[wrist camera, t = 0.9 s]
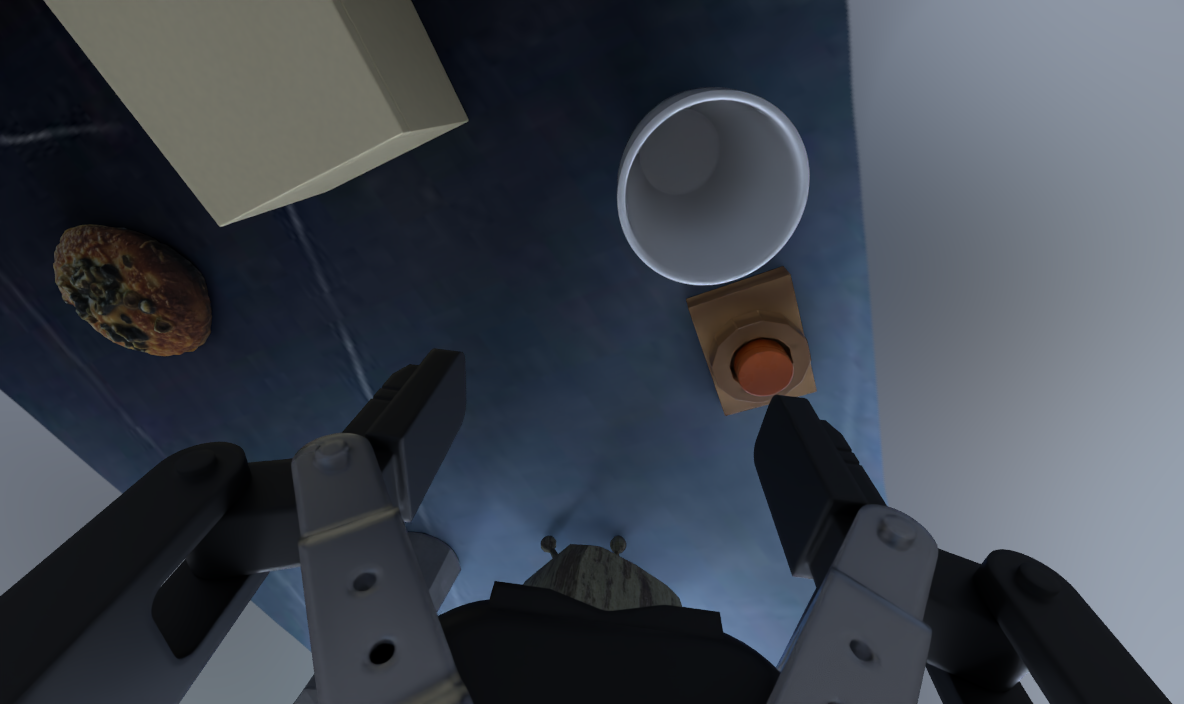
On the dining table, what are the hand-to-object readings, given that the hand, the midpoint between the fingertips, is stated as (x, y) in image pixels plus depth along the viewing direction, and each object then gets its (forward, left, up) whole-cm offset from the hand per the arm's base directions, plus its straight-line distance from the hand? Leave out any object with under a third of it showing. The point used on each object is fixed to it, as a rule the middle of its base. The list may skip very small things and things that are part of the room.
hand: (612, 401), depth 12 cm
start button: (+3, +13, -19) cm, 23 cm away
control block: (+3, +13, -22) cm, 26 cm away
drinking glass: (-5, +1, -22) cm, 23 cm away
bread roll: (+26, -29, -22) cm, 45 cm away
